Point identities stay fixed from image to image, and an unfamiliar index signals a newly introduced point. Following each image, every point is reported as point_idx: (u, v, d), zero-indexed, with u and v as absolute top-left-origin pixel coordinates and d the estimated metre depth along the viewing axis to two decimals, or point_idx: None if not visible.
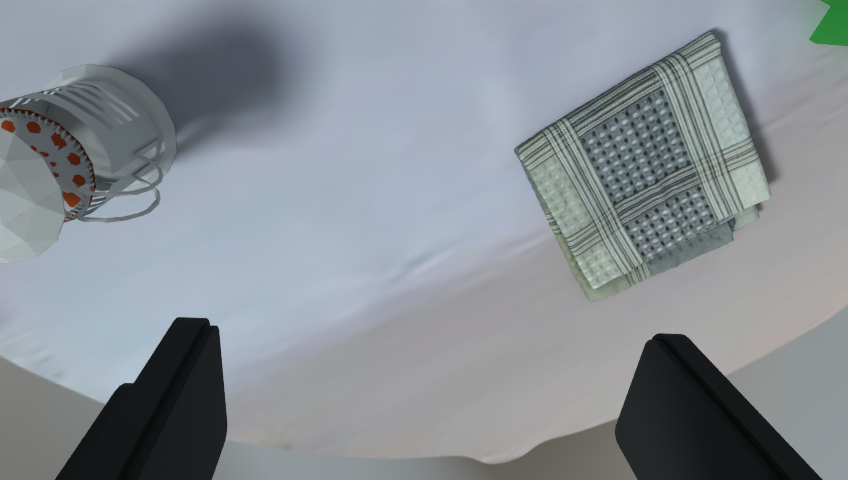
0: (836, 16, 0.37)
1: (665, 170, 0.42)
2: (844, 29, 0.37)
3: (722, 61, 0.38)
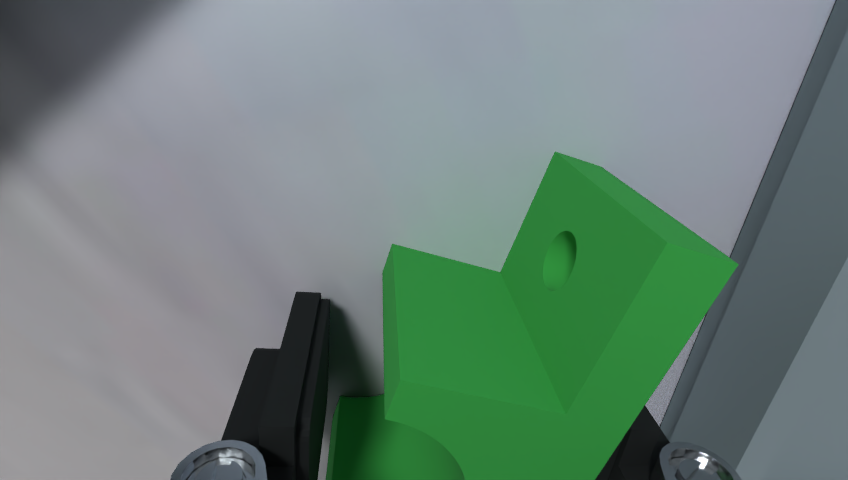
0: (479, 290, 0.10)
1: None
2: (446, 321, 0.09)
3: None
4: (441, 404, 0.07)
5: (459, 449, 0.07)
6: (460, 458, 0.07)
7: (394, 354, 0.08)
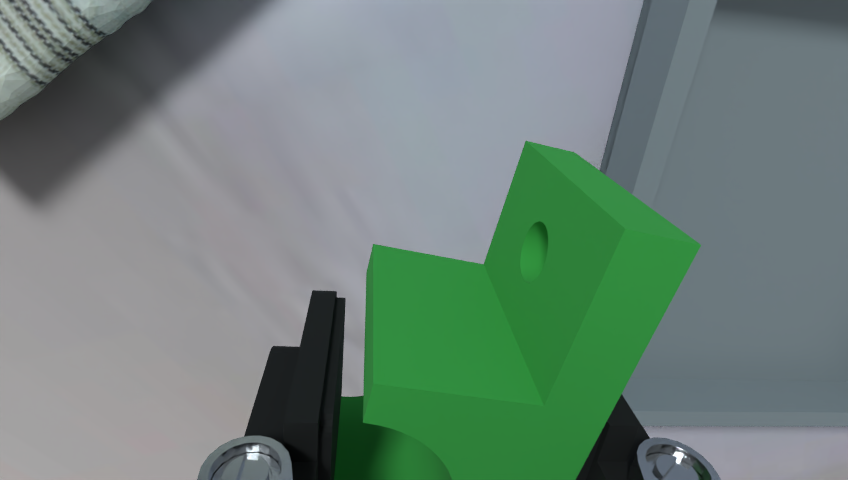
0: (461, 286, 0.10)
1: None
2: (424, 320, 0.09)
3: None
4: (417, 404, 0.07)
5: (441, 447, 0.07)
6: (443, 455, 0.08)
7: (370, 357, 0.08)
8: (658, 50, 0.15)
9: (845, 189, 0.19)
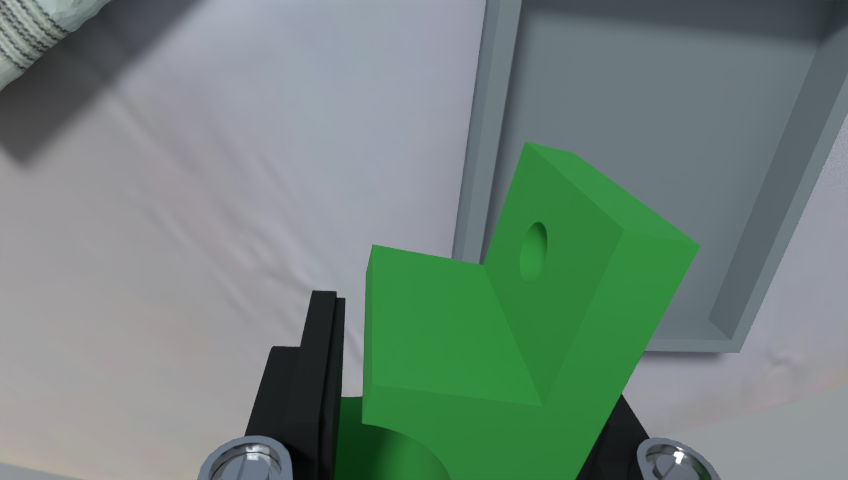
0: (460, 286, 0.10)
1: None
2: (423, 320, 0.09)
3: None
4: (416, 405, 0.07)
5: (440, 447, 0.07)
6: (442, 456, 0.08)
7: (369, 358, 0.08)
8: (489, 42, 0.19)
9: (668, 153, 0.23)
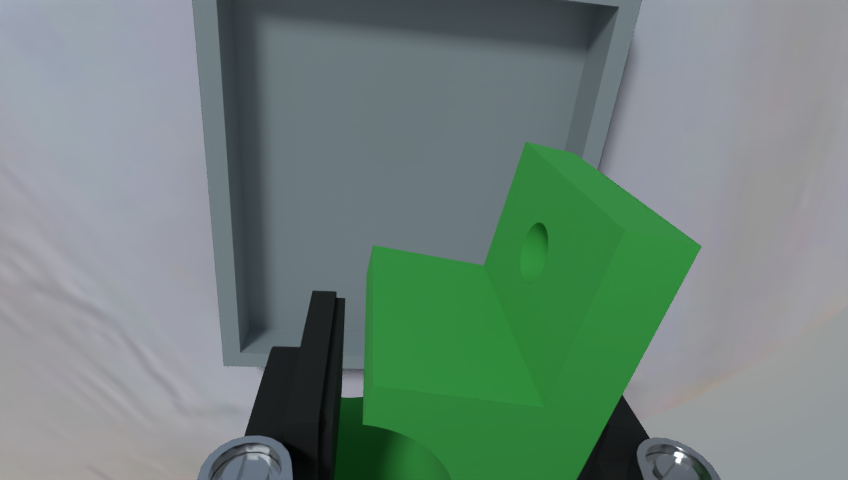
0: (461, 287, 0.10)
1: None
2: (424, 321, 0.09)
3: None
4: (417, 406, 0.07)
5: (441, 448, 0.07)
6: (443, 457, 0.08)
7: (370, 359, 0.08)
8: None
9: (443, 165, 0.22)
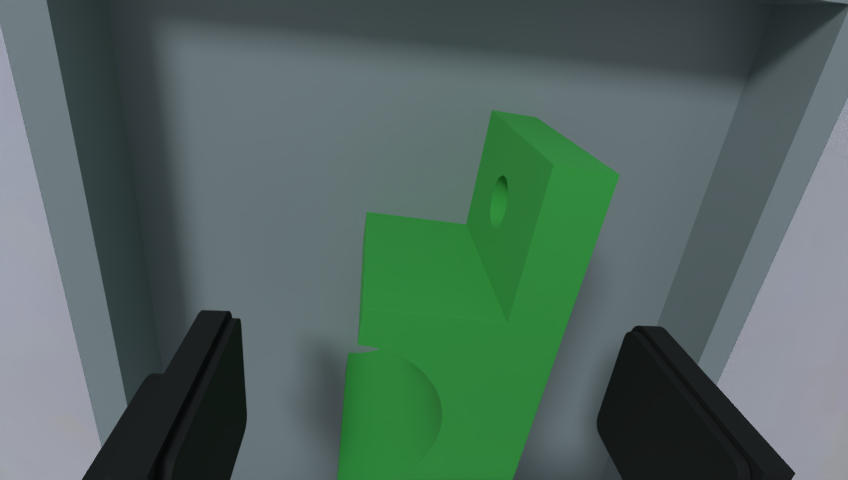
0: (443, 241, 0.12)
1: None
2: (408, 266, 0.10)
3: None
4: (401, 326, 0.09)
5: (425, 364, 0.09)
6: (427, 372, 0.09)
7: (362, 295, 0.09)
8: None
9: None
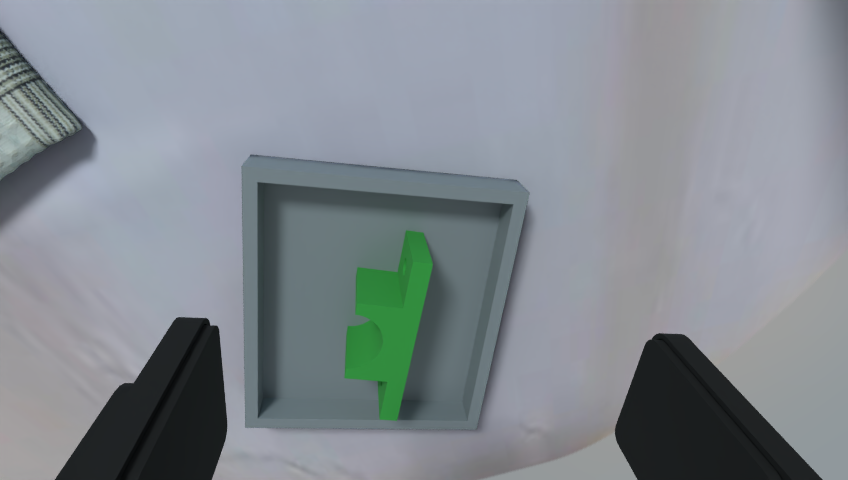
0: (386, 279, 0.30)
1: None
2: (372, 289, 0.29)
3: (33, 149, 0.25)
4: (369, 309, 0.27)
5: (376, 321, 0.28)
6: (377, 324, 0.28)
7: (356, 299, 0.28)
8: None
9: None
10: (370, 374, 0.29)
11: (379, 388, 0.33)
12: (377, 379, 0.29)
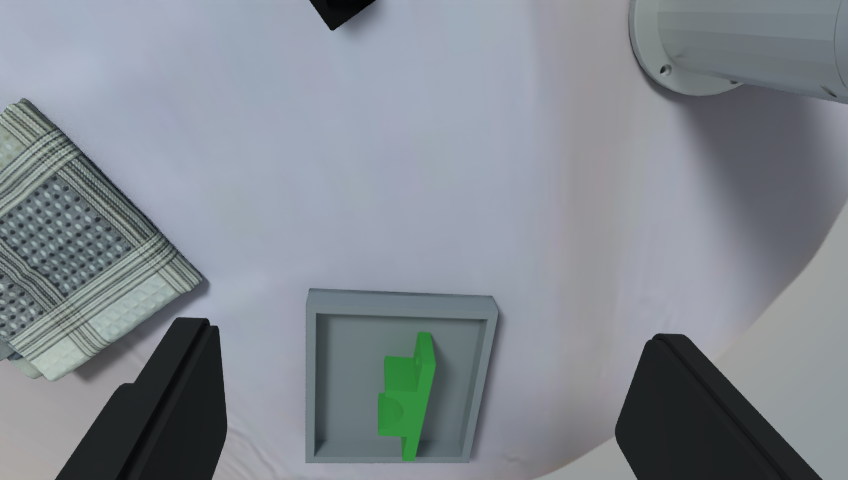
0: (405, 366, 0.44)
1: (50, 274, 0.38)
2: (396, 376, 0.43)
3: (174, 297, 0.39)
4: (394, 393, 0.41)
5: (399, 400, 0.41)
6: (400, 402, 0.42)
7: (385, 385, 0.42)
8: None
9: None
10: (395, 432, 0.43)
11: (401, 436, 0.46)
12: (400, 435, 0.43)
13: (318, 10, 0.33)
